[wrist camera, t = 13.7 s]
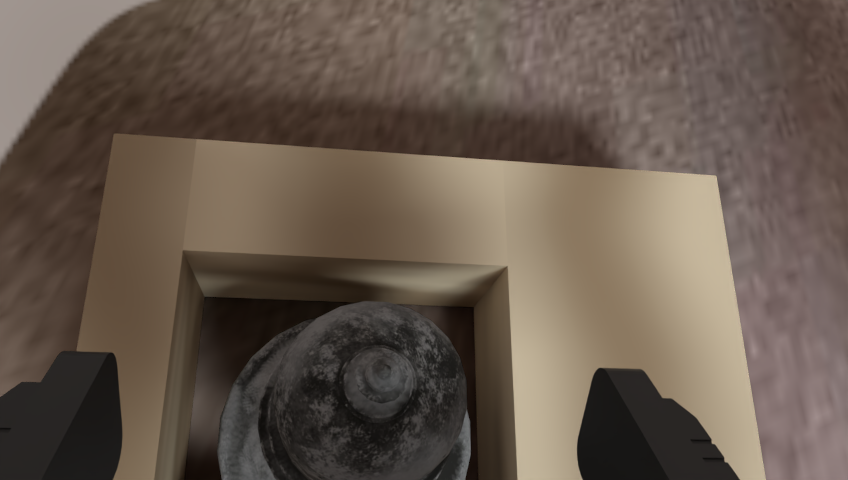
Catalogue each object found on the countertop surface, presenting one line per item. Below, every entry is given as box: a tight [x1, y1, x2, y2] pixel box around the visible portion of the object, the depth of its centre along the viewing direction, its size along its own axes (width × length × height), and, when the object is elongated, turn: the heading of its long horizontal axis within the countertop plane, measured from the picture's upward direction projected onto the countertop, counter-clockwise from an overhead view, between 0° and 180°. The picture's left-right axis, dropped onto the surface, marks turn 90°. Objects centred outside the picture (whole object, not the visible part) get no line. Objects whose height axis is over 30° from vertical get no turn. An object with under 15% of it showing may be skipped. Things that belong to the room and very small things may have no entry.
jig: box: [76, 133, 766, 480], centre depth 19 cm, size 16×13×4 cm
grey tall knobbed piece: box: [217, 301, 471, 480], centre depth 14 cm, size 6×6×12 cm
